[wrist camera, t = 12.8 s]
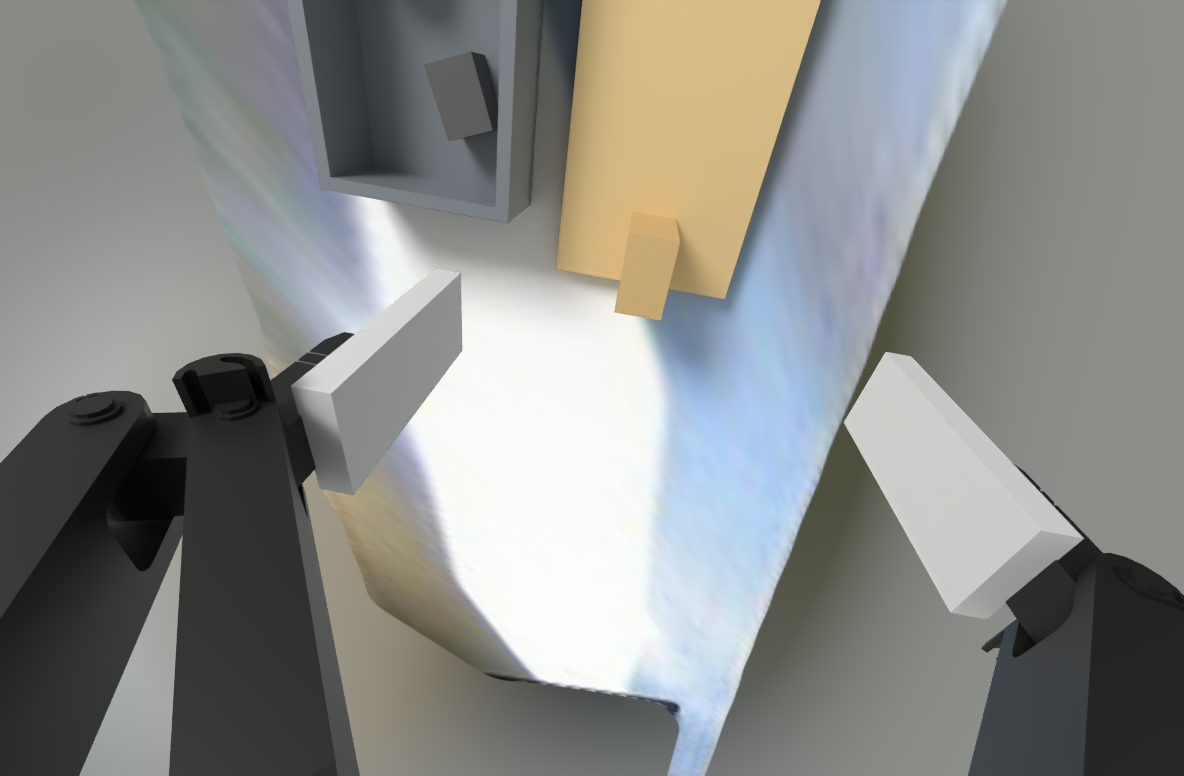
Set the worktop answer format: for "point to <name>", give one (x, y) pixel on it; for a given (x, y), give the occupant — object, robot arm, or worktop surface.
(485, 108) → the rubber block
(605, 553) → the worktop surface
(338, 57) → the tub
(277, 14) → the worktop surface
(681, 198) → the lid
